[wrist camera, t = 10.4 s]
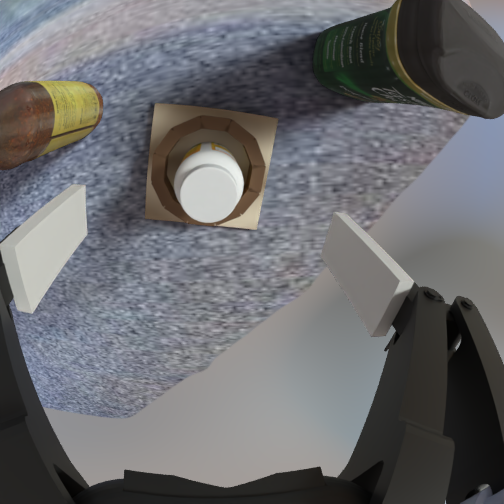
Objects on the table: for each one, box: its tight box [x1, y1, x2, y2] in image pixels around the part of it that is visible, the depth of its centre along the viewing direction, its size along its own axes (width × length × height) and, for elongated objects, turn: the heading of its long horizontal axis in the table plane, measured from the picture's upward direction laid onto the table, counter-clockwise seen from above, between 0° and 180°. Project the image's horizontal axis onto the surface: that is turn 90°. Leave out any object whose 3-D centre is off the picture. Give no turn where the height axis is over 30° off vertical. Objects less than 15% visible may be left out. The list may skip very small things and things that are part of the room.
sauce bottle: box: [0, 81, 103, 170], centre depth 14 cm, size 7×6×20 cm
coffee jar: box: [313, 0, 504, 119], centre depth 16 cm, size 10×8×19 cm
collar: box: [145, 103, 278, 230], centre depth 27 cm, size 12×12×3 cm
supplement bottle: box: [174, 142, 244, 223], centre depth 23 cm, size 5×5×10 cm
